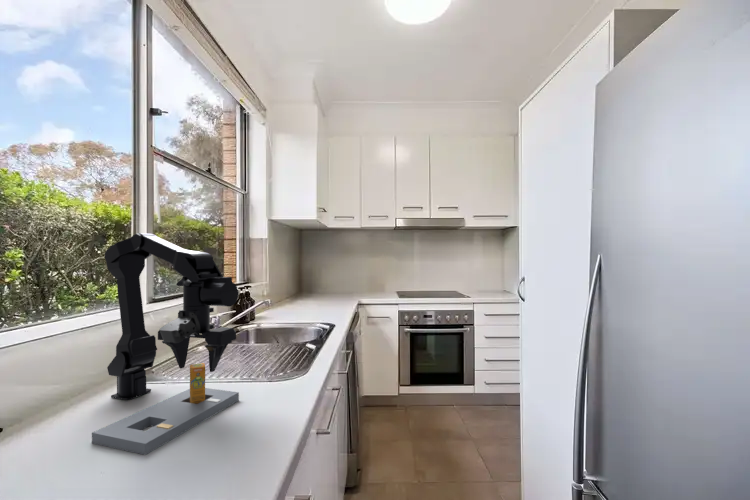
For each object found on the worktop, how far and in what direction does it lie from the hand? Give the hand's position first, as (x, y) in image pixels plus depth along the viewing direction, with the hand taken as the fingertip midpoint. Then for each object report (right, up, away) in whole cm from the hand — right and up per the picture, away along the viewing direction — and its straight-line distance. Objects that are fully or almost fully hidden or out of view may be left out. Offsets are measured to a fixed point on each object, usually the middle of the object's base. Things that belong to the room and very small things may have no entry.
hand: (196, 369), depth 84 cm
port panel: (-2, -9, -6) cm, 11 cm away
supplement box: (0, -9, 0) cm, 9 cm away
